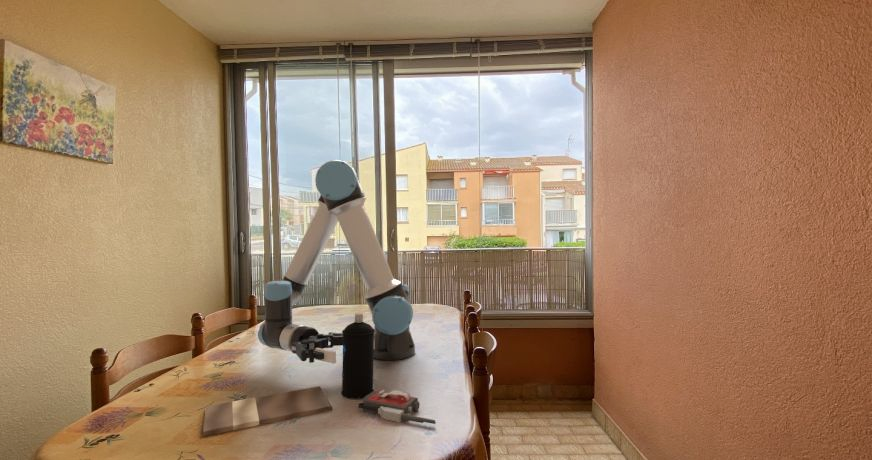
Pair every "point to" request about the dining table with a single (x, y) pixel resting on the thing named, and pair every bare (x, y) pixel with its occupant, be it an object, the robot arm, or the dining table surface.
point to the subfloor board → (264, 410)
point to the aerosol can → (357, 359)
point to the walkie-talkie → (393, 406)
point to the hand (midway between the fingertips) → (355, 350)
